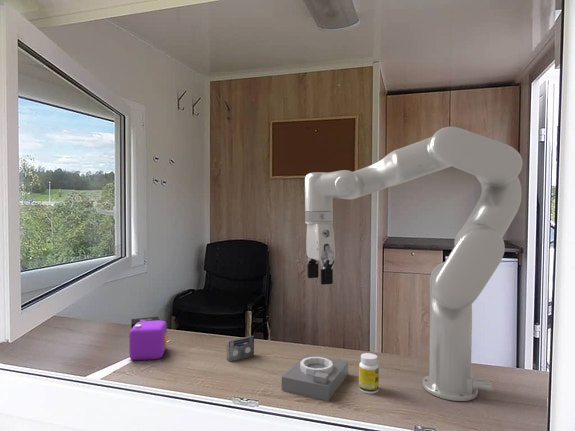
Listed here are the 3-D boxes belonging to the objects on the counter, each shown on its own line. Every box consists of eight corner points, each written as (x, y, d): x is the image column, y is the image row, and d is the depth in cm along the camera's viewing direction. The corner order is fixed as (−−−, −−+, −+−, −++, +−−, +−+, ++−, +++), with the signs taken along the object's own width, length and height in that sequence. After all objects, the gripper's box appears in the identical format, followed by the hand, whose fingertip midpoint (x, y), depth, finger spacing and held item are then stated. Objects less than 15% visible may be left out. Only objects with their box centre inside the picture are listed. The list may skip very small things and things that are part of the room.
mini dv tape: (251, 354, 118) (251, 335, 118) (253, 356, 117) (254, 336, 117) (226, 360, 113) (226, 340, 113) (228, 362, 112) (228, 341, 112)
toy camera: (167, 343, 127) (167, 313, 126) (168, 359, 114) (168, 325, 114) (131, 347, 123) (131, 316, 123) (128, 364, 110) (128, 329, 110)
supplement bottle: (378, 395, 93) (379, 360, 93) (358, 393, 94) (359, 358, 94) (378, 386, 98) (378, 353, 97) (359, 384, 98) (359, 351, 98)
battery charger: (131, 329, 142) (131, 319, 142) (158, 326, 145) (158, 316, 145) (131, 341, 130) (131, 329, 130) (161, 337, 133) (161, 326, 133)
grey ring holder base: (348, 374, 104) (348, 356, 104) (328, 401, 90) (328, 380, 90) (306, 366, 109) (306, 348, 109) (281, 390, 95) (281, 370, 95)
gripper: (345, 218, 99) (346, 285, 99) (319, 217, 115) (320, 274, 115) (318, 219, 96) (318, 288, 97) (295, 217, 113) (296, 276, 113)
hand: (319, 280), depth 106 cm, fingers open, 9 cm apart
